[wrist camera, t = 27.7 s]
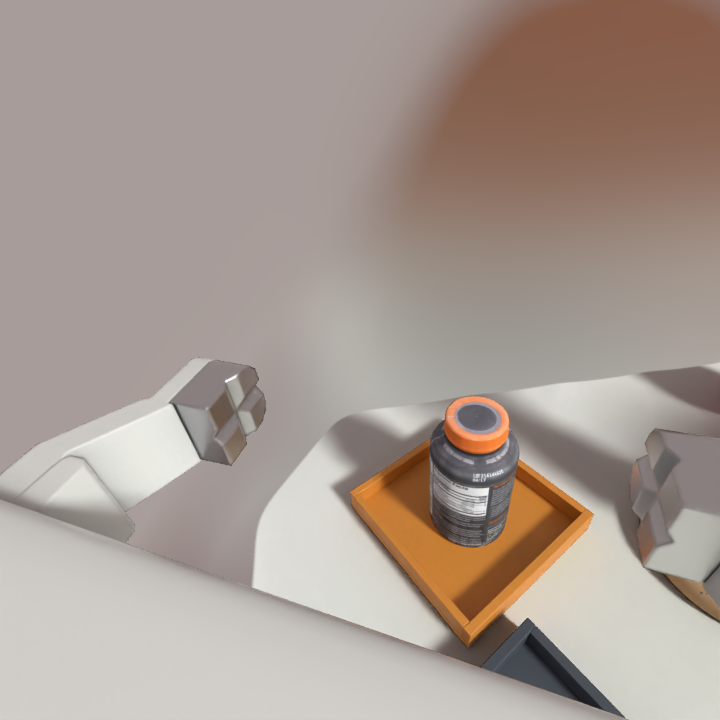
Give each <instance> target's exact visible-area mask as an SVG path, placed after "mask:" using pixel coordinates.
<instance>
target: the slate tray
mask: <svg viewBox="0 0 720 720" xmlns="http://www.w3.org/2000/svg"><path fill="white" fill-rule="evenodd" d="M480 668H483V669H486V670H489V671H492V672H495V673H498V674H500V675H503V676H506V677H509V678H512V679H515V680H518V681H520V682H523V683H526V684H529V685H532V686H535V687H537V688H540V689H543V690H546V691H549V692H552V693H555V694H557V695H560V696H563V697H566V698H569V699H572V700H575V701H577V702H580V703H583V704H586V705H589V706H592V707H595V708H597V709H600V710H603V711H606V712H609V713H612V714H615V715H617V716H620V717H623V718H625V717H624V716H623V715H622V714H621V713H620V712H619V711H618V710H617V709H616V708H615V707H614V706H613V705H612V703H611V702H610V701H609V700H608V699H607V698H606V697H605V696H604V695H603V694H602V693H601V692H600V691H599V690H598V689H597V688H596V687H595V686H594V685H593V684H592V683H591V682H590V681H589V680H588V679H587V678H586V677H585V676H584V675H583V674H582V673H581V672H580V671H579V670H578V669H577V668H576V667H575V666H574V664H573V663H572V662H571V661H570V660H569V659H568V658H567V657H566V656H565V655H564V654H563V653H562V652H561V651H560V650H559V649H558V648H557V647H556V646H555V645H554V644H553V643H552V642H551V641H550V640H549V639H548V638H547V637H546V636H545V635H544V634H543V633H542V632H541V631H540V630H539V629H538V628H537V627H535V624H534V623H533V622H532V621H531V620H530V619H529V618H527V619H526V620H525V621H524V622H523V623H522V624H521V625H520V626H519V627H518V628H517V629H516V630H515V631H514V632H513V633H512V634H511V635H510V636H509V638H508V639H507V640H506V641H505V642H504V643H503V644H502V645H501V646H500V647H499V648H498V649H497V650H496V651H495V652H494V653H493V654H492V655H491V656H490V657H489V658H488V660H487V661H486V662H485V663H484V664H483V665H482V666H481V667H480Z"/></svg>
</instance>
